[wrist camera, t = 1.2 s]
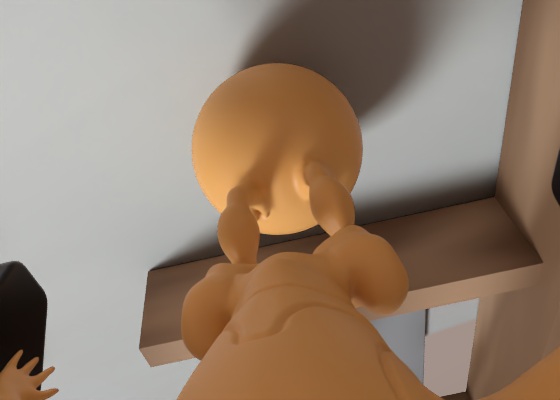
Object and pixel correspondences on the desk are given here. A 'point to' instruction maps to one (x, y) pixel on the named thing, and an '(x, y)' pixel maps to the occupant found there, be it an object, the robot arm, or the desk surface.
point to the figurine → (290, 258)
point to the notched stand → (453, 243)
